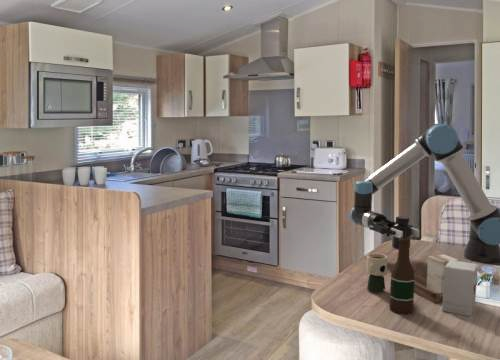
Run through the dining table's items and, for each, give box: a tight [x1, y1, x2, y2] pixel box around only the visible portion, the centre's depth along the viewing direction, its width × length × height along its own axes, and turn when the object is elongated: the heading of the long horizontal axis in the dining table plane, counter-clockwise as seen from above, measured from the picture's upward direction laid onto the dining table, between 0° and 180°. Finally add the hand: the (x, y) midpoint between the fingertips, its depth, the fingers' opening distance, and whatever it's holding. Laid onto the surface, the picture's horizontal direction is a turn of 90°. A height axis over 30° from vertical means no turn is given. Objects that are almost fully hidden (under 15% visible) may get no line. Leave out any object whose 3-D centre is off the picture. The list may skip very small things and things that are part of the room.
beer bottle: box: [389, 237, 415, 315], centre depth 158 cm, size 8×8×24 cm
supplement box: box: [441, 260, 479, 317], centre depth 159 cm, size 9×9×15 cm
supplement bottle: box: [391, 216, 412, 250], centre depth 189 cm, size 7×7×12 cm
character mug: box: [366, 252, 389, 294], centre depth 175 cm, size 11×7×13 cm, turn 142°
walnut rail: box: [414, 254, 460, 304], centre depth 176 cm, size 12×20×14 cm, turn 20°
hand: (410, 234), depth 185 cm, fingers closed on supplement bottle, 7 cm apart
